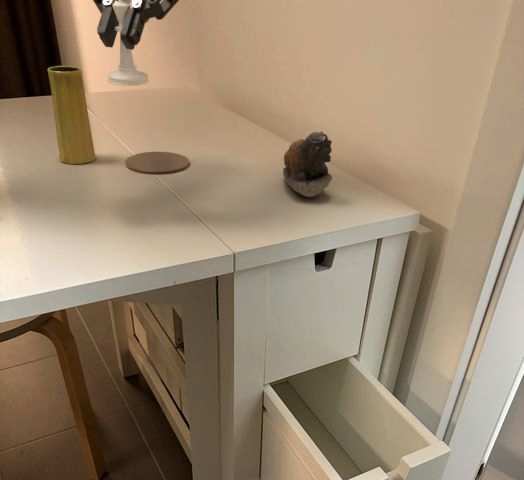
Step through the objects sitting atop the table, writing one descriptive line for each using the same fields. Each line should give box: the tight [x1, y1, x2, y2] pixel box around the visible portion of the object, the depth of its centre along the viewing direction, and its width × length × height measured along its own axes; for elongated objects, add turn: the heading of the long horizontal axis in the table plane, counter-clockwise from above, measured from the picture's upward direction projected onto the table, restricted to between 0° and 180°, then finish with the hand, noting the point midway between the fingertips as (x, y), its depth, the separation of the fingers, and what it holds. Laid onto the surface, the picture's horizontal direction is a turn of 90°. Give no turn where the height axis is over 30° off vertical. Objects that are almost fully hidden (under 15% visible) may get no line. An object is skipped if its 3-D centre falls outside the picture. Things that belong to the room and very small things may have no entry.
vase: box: [47, 65, 97, 165], centre depth 92 cm, size 6×6×14 cm
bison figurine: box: [282, 130, 333, 198], centre depth 86 cm, size 12×7×10 cm, turn 14°
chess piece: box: [107, 0, 150, 87], centre depth 65 cm, size 5×5×10 cm
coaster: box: [124, 151, 190, 175], centre depth 96 cm, size 11×11×1 cm
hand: (116, 42), depth 63 cm, fingers closed on chess piece
